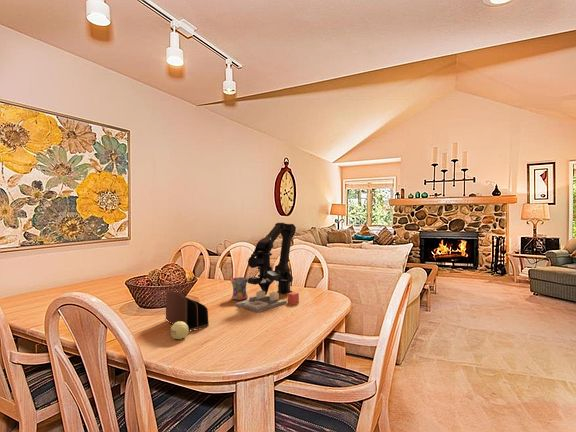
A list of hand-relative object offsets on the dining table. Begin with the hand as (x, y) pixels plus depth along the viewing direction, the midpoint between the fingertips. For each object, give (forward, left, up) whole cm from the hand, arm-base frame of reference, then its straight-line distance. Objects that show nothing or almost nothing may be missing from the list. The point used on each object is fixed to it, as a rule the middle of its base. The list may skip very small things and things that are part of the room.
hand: (265, 294), depth 176 cm
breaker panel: (+7, +5, -3) cm, 9 cm away
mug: (+6, -13, -3) cm, 15 cm away
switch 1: (+3, 0, -1) cm, 3 cm away
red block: (-5, +15, -3) cm, 16 cm away
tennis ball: (+56, +16, -3) cm, 58 cm away
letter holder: (+46, +3, -3) cm, 47 cm away
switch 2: (+1, +8, -1) cm, 8 cm away
